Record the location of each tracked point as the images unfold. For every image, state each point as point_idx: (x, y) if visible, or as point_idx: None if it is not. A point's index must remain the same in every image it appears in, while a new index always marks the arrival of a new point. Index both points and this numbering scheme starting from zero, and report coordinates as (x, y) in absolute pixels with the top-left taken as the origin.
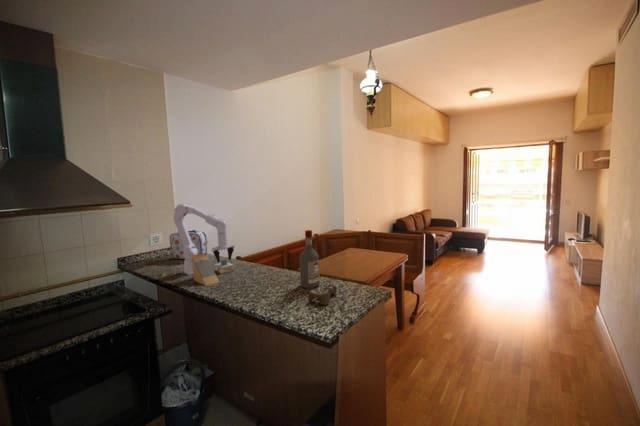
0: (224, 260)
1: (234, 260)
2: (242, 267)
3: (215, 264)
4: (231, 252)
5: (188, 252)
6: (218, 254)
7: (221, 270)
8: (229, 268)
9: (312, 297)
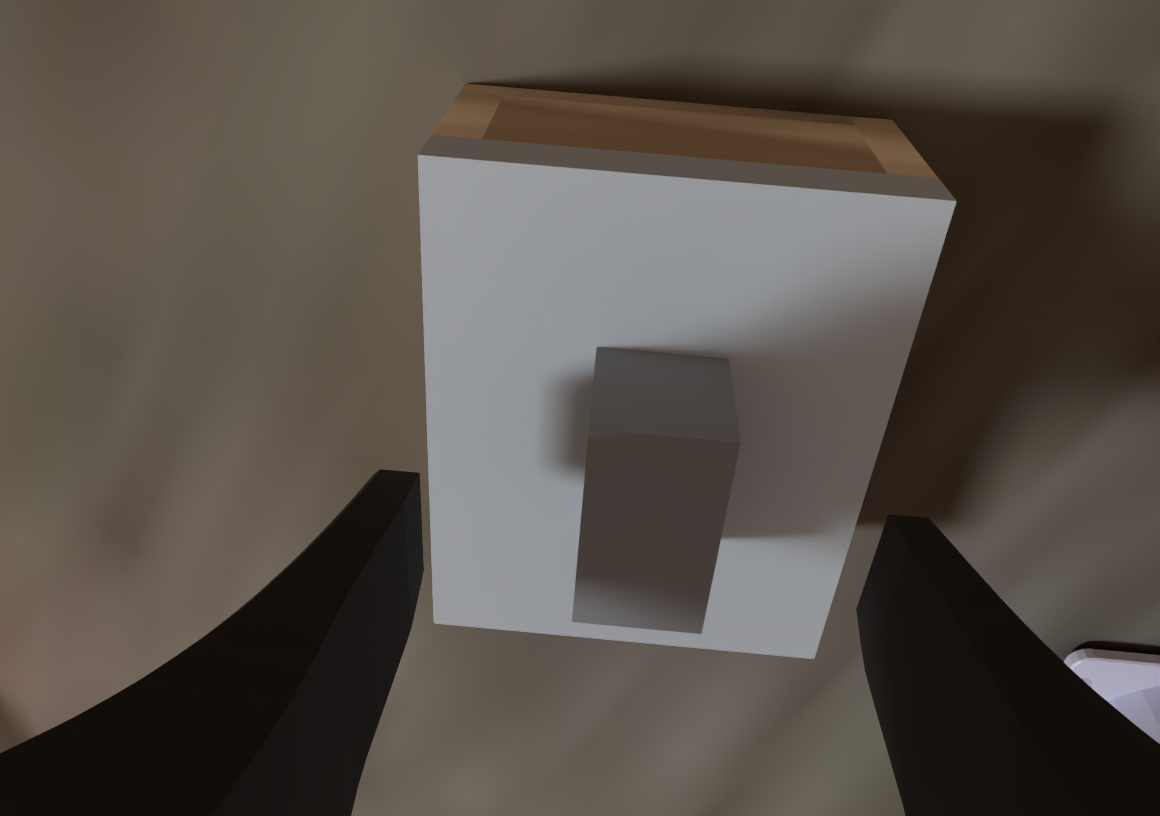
0: (608, 563)
1: None
2: (100, 220)
3: (818, 634)
4: (226, 684)
5: None
6: (1133, 792)
7: None
8: (621, 132)
9: None
